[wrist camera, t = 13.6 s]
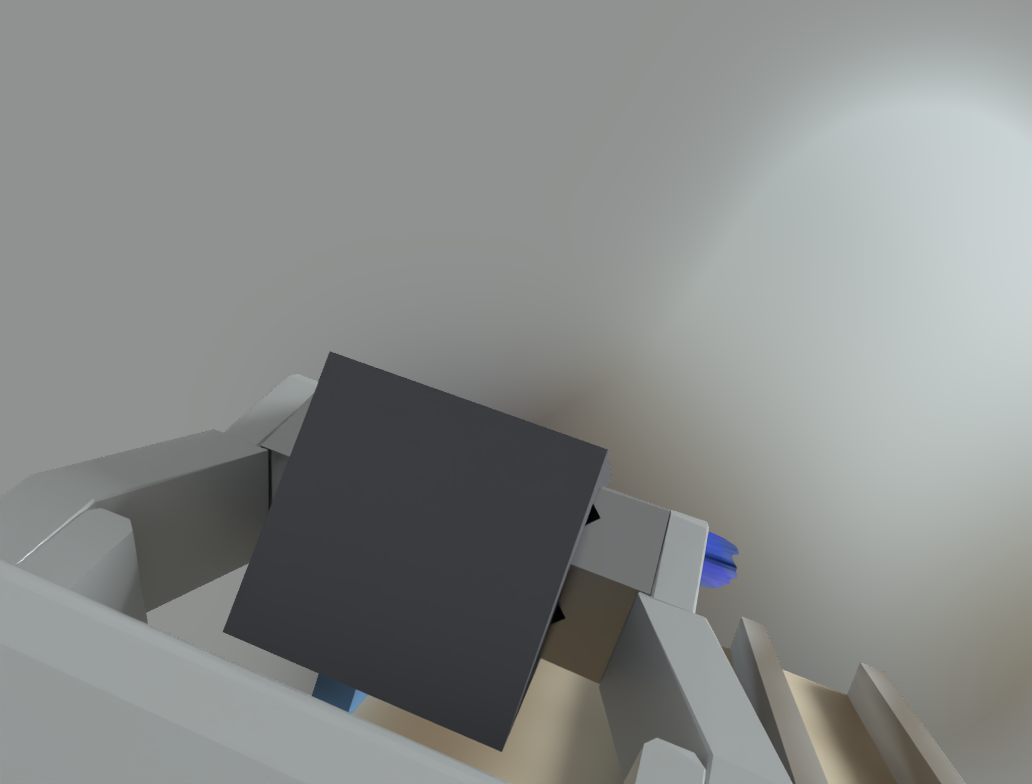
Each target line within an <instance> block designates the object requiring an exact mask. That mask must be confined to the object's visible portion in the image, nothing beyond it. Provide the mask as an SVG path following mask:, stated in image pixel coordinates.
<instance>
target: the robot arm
mask: <svg viewBox="0 0 1032 784" xmlns="http://www.w3.org/2000/svg"><path fill="white" fill-rule="evenodd" d="M317 384H318V381H315V380H313V379H310V378H307V377H305V376H302V375H300V374H295V375H290V376H288V377H286V378H285V379H284V380H283V381H282V382H281V383H280V384H278V385H277V386H276V387H275V388H274V389H273V390H272V391H270V393H268V394H267V395H266V396H265V397H264V398H262V399H261V400H260V401H259V402H258V403H257V404H255V405H254V406H253V407H252V408H251V409H250V410H249V411H247V412H246V413H245V414H244V415H243V416H242V417H241V418H239V419H238V420H237V421H236V422H235V423H234V424H233V425H231V426H230V427H229V428H228V429H227V430H226V431H225V432H223V433H222V432H220V431H217V430H214V429H213V430H209V431H205V432H201V433H197V434H193V435H189V436H185V437H181V438H177V439H173V440H169V441H165V442H161V443H157V444H153V445H149V446H145V447H141V448H137V449H133V450H129V451H125V452H121V453H117V454H113V455H109V456H105V457H101V458H97V459H93V460H89V461H85V462H81V463H77V464H73V465H69V466H65V467H61V468H57V469H53V470H49V471H45V472H41V473H37V474H33V475H30V476H29V477H27V478H26V479H25V480H23V481H22V482H20V483H19V484H17V485H16V486H15V487H13V488H12V489H10V490H9V491H7V492H6V493H5V494H3V495H2V496H0V784H512V783H509V782H507V781H505V780H502V779H500V778H498V777H495V776H493V775H491V774H489V773H486V772H484V771H482V770H479V769H477V768H475V767H473V766H470V765H468V764H466V763H463V762H461V761H459V760H456V759H454V758H452V757H450V756H447V755H445V754H443V753H440V752H438V751H436V750H434V749H431V748H429V747H427V746H424V745H422V744H420V743H417V742H415V741H413V740H411V739H408V738H406V737H404V736H401V735H399V734H397V733H395V732H392V731H390V730H388V729H385V728H383V727H381V726H379V725H376V724H374V723H372V722H369V721H367V720H365V719H363V718H360V717H358V716H356V715H353V714H351V713H349V712H347V711H344V710H342V709H340V708H338V707H335V706H333V705H331V704H328V703H326V702H324V701H322V700H319V699H317V698H315V697H312V696H310V695H308V694H306V693H303V692H301V691H299V690H296V689H294V688H292V687H290V686H287V685H285V684H283V683H281V682H278V681H276V680H273V679H271V678H269V677H267V676H265V675H262V674H260V673H258V672H255V671H253V670H251V669H249V668H246V667H244V666H242V665H240V664H237V663H235V662H232V661H230V660H228V659H226V658H224V657H221V656H219V655H216V654H214V653H212V652H210V651H208V650H205V649H203V648H201V647H199V646H196V645H194V644H191V643H189V642H187V641H185V640H183V639H180V638H178V637H176V636H173V635H171V634H169V633H167V632H164V631H162V630H160V629H157V628H155V627H153V626H150V625H148V622H147V616H146V613H147V612H149V611H151V610H153V609H155V608H157V607H159V606H161V605H163V604H165V603H167V602H169V601H171V600H173V599H176V598H178V597H180V596H182V595H183V594H186V593H188V592H190V591H192V590H194V589H196V588H198V587H200V586H202V585H204V584H206V583H209V582H211V581H213V580H215V579H217V578H219V577H221V576H223V575H225V574H227V573H229V572H231V571H233V570H236V569H238V568H240V567H242V566H244V565H246V564H248V563H249V562H250V559H251V557H252V554H253V552H254V549H255V546H256V544H257V541H258V538H259V536H260V533H261V531H262V528H263V525H264V523H265V520H266V518H267V515H268V512H269V510H270V507H271V504H272V502H273V499H274V497H275V494H276V491H277V489H278V486H279V483H280V481H281V478H282V476H283V473H284V470H285V468H286V465H287V463H288V460H289V457H290V455H291V452H292V449H293V447H294V444H295V442H296V439H297V436H298V434H299V431H300V428H301V426H302V423H303V421H304V418H305V415H306V413H307V410H308V408H309V405H310V402H311V400H312V397H313V394H314V392H315V389H316V387H317ZM708 530H709V526H708V524H707V522H706V521H703V520H700V519H697V518H694V517H691V516H688V515H685V514H682V513H679V512H676V511H674V510H670V511H669V510H668V509H665V508H662V507H660V506H657V505H654V504H651V503H648V502H645V501H642V500H640V499H637V498H634V497H631V496H629V495H626V494H623V493H620V492H617V491H614V490H612V489H609V488H606V487H603V486H601V485H600V486H599V488H598V491H597V494H596V496H595V499H594V502H593V505H592V508H591V511H590V514H589V517H588V520H587V523H586V525H585V526H584V529H583V531H582V534H581V537H580V540H579V542H578V545H577V548H576V550H575V553H574V556H573V558H572V561H571V564H570V567H569V570H568V573H567V576H566V579H565V582H564V585H563V588H562V591H561V594H560V597H559V600H558V605H557V608H556V611H555V613H554V616H553V619H552V621H551V624H550V627H549V630H548V633H547V636H546V639H545V642H544V645H543V648H542V651H541V654H540V657H539V658H541V659H543V660H546V661H548V662H550V663H553V664H555V665H557V666H559V667H562V668H564V669H566V670H569V671H571V672H573V673H575V674H578V675H580V676H582V677H585V678H587V679H589V680H591V681H594V682H596V683H598V684H600V685H599V690H600V694H601V697H602V701H603V705H604V708H605V712H606V716H607V719H608V723H609V727H610V730H611V734H612V738H613V741H614V745H615V749H616V752H617V756H618V760H619V763H620V767H621V771H622V774H623V778H624V783H623V784H793V783H792V781H791V779H790V777H789V776H788V774H787V772H786V770H785V768H784V766H783V764H782V762H781V760H780V758H779V756H778V755H777V753H776V751H775V749H774V747H773V745H772V743H771V741H770V739H769V737H768V735H767V733H766V732H765V730H764V728H763V726H762V724H761V722H760V720H759V718H758V716H757V714H756V712H755V711H754V709H753V707H752V705H751V703H750V701H749V699H748V697H747V695H746V693H745V691H744V690H743V688H742V686H741V684H740V682H739V680H738V678H737V676H736V674H735V672H734V670H733V669H732V667H731V665H730V663H729V661H728V659H727V657H726V655H725V653H724V651H723V649H722V647H721V646H720V644H719V642H718V640H717V638H716V636H715V634H714V632H713V630H712V628H711V626H710V625H709V623H708V621H707V619H706V618H705V617H703V616H700V615H697V614H695V609H696V603H697V597H698V591H699V585H700V579H701V573H702V567H703V561H704V555H705V548H706V542H707V536H708Z"/></svg>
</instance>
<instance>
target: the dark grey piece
mask: <svg viewBox="0 0 1032 784" xmlns="http://www.w3.org/2000/svg"><path fill="white" fill-rule="evenodd" d="M611 477H612V474H611V468H610V461H609V455H608V450H607V449H604V448H601V447H599V446H596V445H593V444H590V443H587V442H584V441H582V440H579V439H576V438H573V437H570V436H568V435H565V434H562V433H559V432H556V431H553V430H551V429H548V428H545V427H542V426H539V425H536V424H533V423H531V422H528V421H525V420H522V419H519V418H517V417H514V416H511V415H508V414H505V413H503V412H500V411H497V410H494V409H491V408H488V407H486V406H483V405H480V404H477V403H474V402H472V401H469V400H466V399H463V398H460V397H457V396H455V395H452V394H449V393H446V392H443V391H440V390H438V389H435V388H432V387H429V386H426V385H423V384H421V383H418V382H415V381H412V380H409V379H407V378H404V377H401V376H398V375H395V374H392V373H390V372H387V371H384V370H381V369H378V368H375V367H372V366H369V365H367V364H364V363H361V362H358V361H356V360H353V359H350V358H347V357H344V356H341V355H339V354H336V353H333V352H330V353H329V355H328V358H327V360H326V363H325V366H324V368H323V371H322V373H321V376H320V379H319V381H318V384H317V387H316V389H315V392H314V394H313V397H312V400H311V402H310V405H309V408H308V410H307V413H306V415H305V418H304V421H303V423H302V426H301V428H300V431H299V434H298V436H297V439H296V442H295V444H294V447H293V449H292V452H291V455H290V457H289V460H288V463H287V465H286V468H285V470H284V473H283V476H282V478H281V481H280V483H279V486H278V489H277V491H276V494H275V497H274V499H273V502H272V504H271V507H270V510H269V512H268V515H267V518H266V520H265V523H264V525H263V528H262V531H261V533H260V536H259V538H258V541H257V544H256V546H255V549H254V552H253V554H252V557H251V559H250V562H249V565H248V568H247V570H246V573H245V575H244V578H243V580H242V583H241V586H240V588H239V591H238V594H237V596H236V599H235V601H234V604H233V607H232V609H231V612H230V614H229V617H228V620H227V623H226V625H225V628H224V630H223V632H224V633H226V634H229V635H231V636H234V637H236V638H238V639H240V640H243V641H245V642H247V643H250V644H252V645H254V646H257V647H259V648H261V649H264V650H266V651H268V652H271V653H273V654H275V655H277V656H280V657H282V658H284V659H287V660H289V661H291V662H294V663H296V664H298V665H301V666H303V667H305V668H308V669H310V670H312V671H315V672H317V673H319V674H322V675H324V676H326V677H329V678H331V679H333V680H335V681H338V682H340V683H342V684H345V685H347V686H349V687H352V688H354V689H356V690H359V691H361V692H363V693H366V694H368V695H370V696H373V697H375V698H377V699H380V700H382V701H384V702H387V703H389V704H391V705H393V706H396V707H398V708H400V709H403V710H405V711H407V712H410V713H412V714H414V715H417V716H419V717H421V718H424V719H426V720H428V721H431V722H433V723H435V724H438V725H440V726H442V727H444V728H447V729H449V730H451V731H454V732H456V733H458V734H461V735H463V736H465V737H468V738H470V739H472V740H475V741H477V742H479V743H482V744H484V745H486V746H489V747H491V748H493V749H496V750H498V751H500V752H502V751H503V748H504V746H505V744H506V741H507V739H508V736H509V734H510V732H511V729H512V727H513V724H514V722H515V720H516V717H517V715H518V712H519V710H520V708H521V705H522V703H523V700H524V698H525V696H526V693H527V691H528V688H529V686H530V684H531V681H532V679H533V676H534V674H535V672H536V669H537V667H538V664H539V662H540V660H541V658H539V657H540V654H541V651H542V648H543V645H544V642H545V639H546V636H547V633H548V630H549V627H550V624H551V621H552V619H553V616H554V613H555V611H556V608H557V605H558V600H559V597H560V594H561V591H562V588H563V585H564V582H565V579H566V576H567V573H568V570H569V567H570V564H571V561H572V558H573V556H574V553H575V550H576V548H577V545H578V542H579V540H580V537H581V534H582V531H583V529H584V526H585V525H586V523H587V520H588V517H589V514H590V511H591V508H592V505H593V502H594V499H595V496H596V494H597V491H598V488H599V486H600V485H601V486H603V487H606V488H608V485H609V482H610V480H611Z"/></svg>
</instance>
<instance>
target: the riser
mask: <svg viewBox="0 0 1032 784" xmlns="http://www.w3.org/2000/svg"><path fill="white" fill-rule="evenodd" d="M720 646H721V645H720ZM721 647H722V649H723V651H724V653H725V655H726V657H727V659H728V661H729V663H730V665H731V667H732V669H733V670H734V672H735V674H736V676H737V678H738V680H739V682H740V684H741V686H742V688H743V690H744V691H745V693H746V695H747V697H748V699H749V701H750V703H751V705H752V707H753V709H754V711H755V712H756V714H757V716H758V718H759V720H760V722H761V724H762V726H763V728H764V730H765V732H766V733H767V735H768V737H769V739H770V741H771V743H772V745H773V747H774V749H775V751H776V753H777V755H778V756H779V758H780V760H781V762H782V764H783V766H784V768H785V770H786V772H787V774H788V776H789V777H790V779H791V781H792V783H793V784H966V783H965V782H964V780H963V779H962V777H960V775H959V773H958V772H957V771H956V769H955V768H954V766H953V765H952V764H951V762H950V761H949V760H948V758H947V757H946V755H945V754H944V753H943V752H942V750H941V749H940V747H939V746H938V744H937V743H936V742H935V741H934V739H933V738H932V736H931V735H930V734H929V732H928V731H927V729H926V728H925V727H924V725H923V724H922V722H921V721H920V720H919V718H918V717H917V716H916V714H915V713H914V711H913V710H912V709H911V707H910V706H909V705H908V703H907V702H906V700H905V699H904V698H903V696H902V695H901V694H900V692H899V691H898V690H897V688H896V687H895V685H894V684H893V683H892V681H891V680H890V679H889V677H888V676H887V674H886V673H885V672H884V671H881V670H879V669H876V668H874V667H871V666H869V665H866V664H863V663H860V664H859V667H858V669H857V671H856V674H855V677H854V679H853V681H852V684H851V687H850V689H849V692H848V694H847V695H846V694H843V693H840V692H838V691H835V690H833V689H830V688H828V687H825V686H823V685H820V684H817V683H815V682H813V681H810V680H807V679H805V678H802V677H800V676H797V675H795V674H792V673H790V672H787V671H785V670H783V669H782V667H781V664H780V662H779V659H778V657H777V655H776V652H775V650H774V647H773V645H772V642H771V640H770V637H769V635H768V632H767V630H766V627H765V625H762V624H760V623H757V622H754V621H752V620H749V619H746V618H744V617H741V620H740V622H739V625H738V628H737V630H736V633H735V636H734V638H733V641H732V643H731V646H730V649H729V648H726V647H724V646H721ZM599 685H600V684H598V683H596V682H594V681H591V680H589V679H587V678H585V677H582V676H580V675H578V674H575V673H573V672H571V671H569V670H566V669H564V668H562V667H559V666H557V665H555V664H553V663H550V662H548V661H546V660H543V659H541V660H540V662H539V664H538V667H537V669H536V672H535V674H534V676H533V679H532V681H531V684H530V686H529V688H528V691H527V693H526V696H525V698H524V700H523V703H522V705H521V708H520V710H519V712H518V715H517V717H516V720H515V722H514V724H513V727H512V729H511V732H510V734H509V736H508V739H507V741H506V744H505V746H504V748H503V751H502V752H500V751H498V750H496V749H493V748H491V747H489V746H486V745H484V744H482V743H479V742H477V741H475V740H472V739H470V738H468V737H465V736H463V735H461V734H458V733H456V732H454V731H451V730H449V729H447V728H444V727H442V726H440V725H438V724H435V723H433V722H431V721H428V720H426V719H424V718H421V717H419V716H417V715H414V714H412V713H410V712H407V711H405V710H403V709H400V708H398V707H396V706H393V705H391V704H389V703H387V702H384V701H382V700H380V699H377V698H375V697H373V696H370V695H368V694H366V693H363V692H361V691H359V690H356V689H354V688H352V687H349V686H347V685H345V684H342V683H340V682H338V681H335V680H333V679H331V678H329V677H326V676H324V675H322V674H319V675H318V678H317V681H316V684H315V687H314V691H313V694H312V697H315V698H317V699H319V700H322V701H324V702H326V703H328V704H331V705H333V706H335V707H338V708H340V709H342V710H344V711H347V712H349V713H351V714H353V715H356V716H358V717H360V718H363V719H365V720H367V721H369V722H372V723H374V724H376V725H379V726H381V727H383V728H385V729H388V730H390V731H392V732H395V733H397V734H399V735H401V736H404V737H406V738H408V739H411V740H413V741H415V742H417V743H420V744H422V745H424V746H427V747H429V748H431V749H434V750H436V751H438V752H440V753H443V754H445V755H447V756H450V757H452V758H454V759H456V760H459V761H461V762H463V763H466V764H468V765H470V766H473V767H475V768H477V769H479V770H482V771H484V772H486V773H489V774H491V775H493V776H495V777H498V778H500V779H502V780H505V781H507V782H509V783H512V784H623V783H624V778H623V774H622V771H621V767H620V763H619V760H618V756H617V752H616V749H615V745H614V741H613V738H612V734H611V730H610V727H609V723H608V719H607V716H606V712H605V708H604V705H603V701H602V697H601V694H600V690H599Z"/></svg>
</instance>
